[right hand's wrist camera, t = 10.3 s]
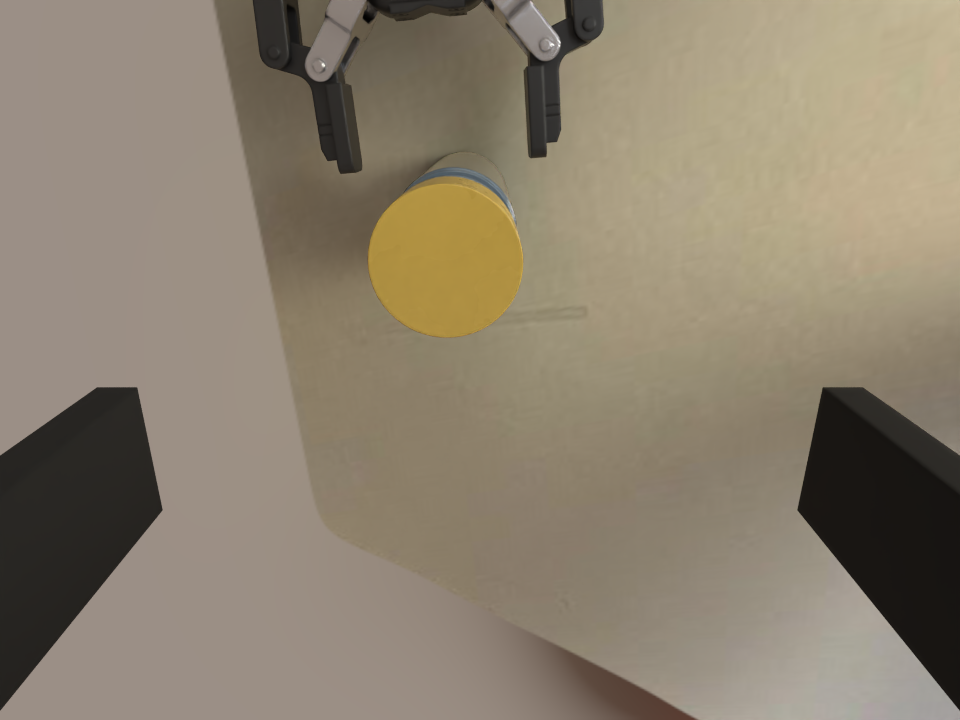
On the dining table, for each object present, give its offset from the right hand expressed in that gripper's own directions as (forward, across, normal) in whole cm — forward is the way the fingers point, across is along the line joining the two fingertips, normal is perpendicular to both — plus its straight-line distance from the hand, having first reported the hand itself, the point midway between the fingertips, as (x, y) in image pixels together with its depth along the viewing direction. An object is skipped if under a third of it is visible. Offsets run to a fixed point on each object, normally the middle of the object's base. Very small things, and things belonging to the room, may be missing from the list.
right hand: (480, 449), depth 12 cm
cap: (+10, -1, +2) cm, 11 cm away
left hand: (+19, -2, +4) cm, 20 cm away
